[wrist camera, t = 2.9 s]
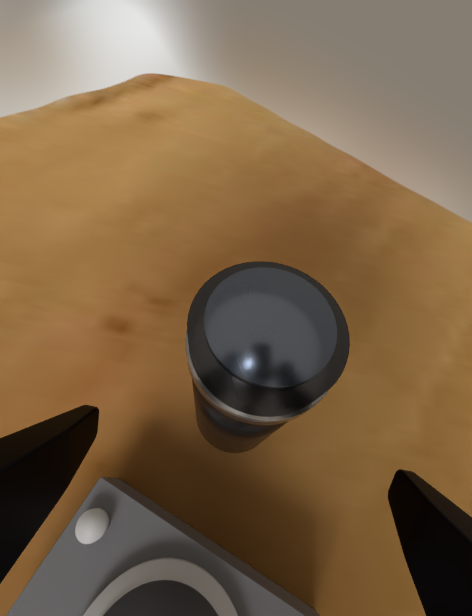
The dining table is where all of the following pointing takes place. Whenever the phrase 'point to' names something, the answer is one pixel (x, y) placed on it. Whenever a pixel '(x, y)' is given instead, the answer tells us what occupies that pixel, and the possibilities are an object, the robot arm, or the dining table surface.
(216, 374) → the dark grey cylinder
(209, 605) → the grey rectangular block
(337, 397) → the dining table surface
